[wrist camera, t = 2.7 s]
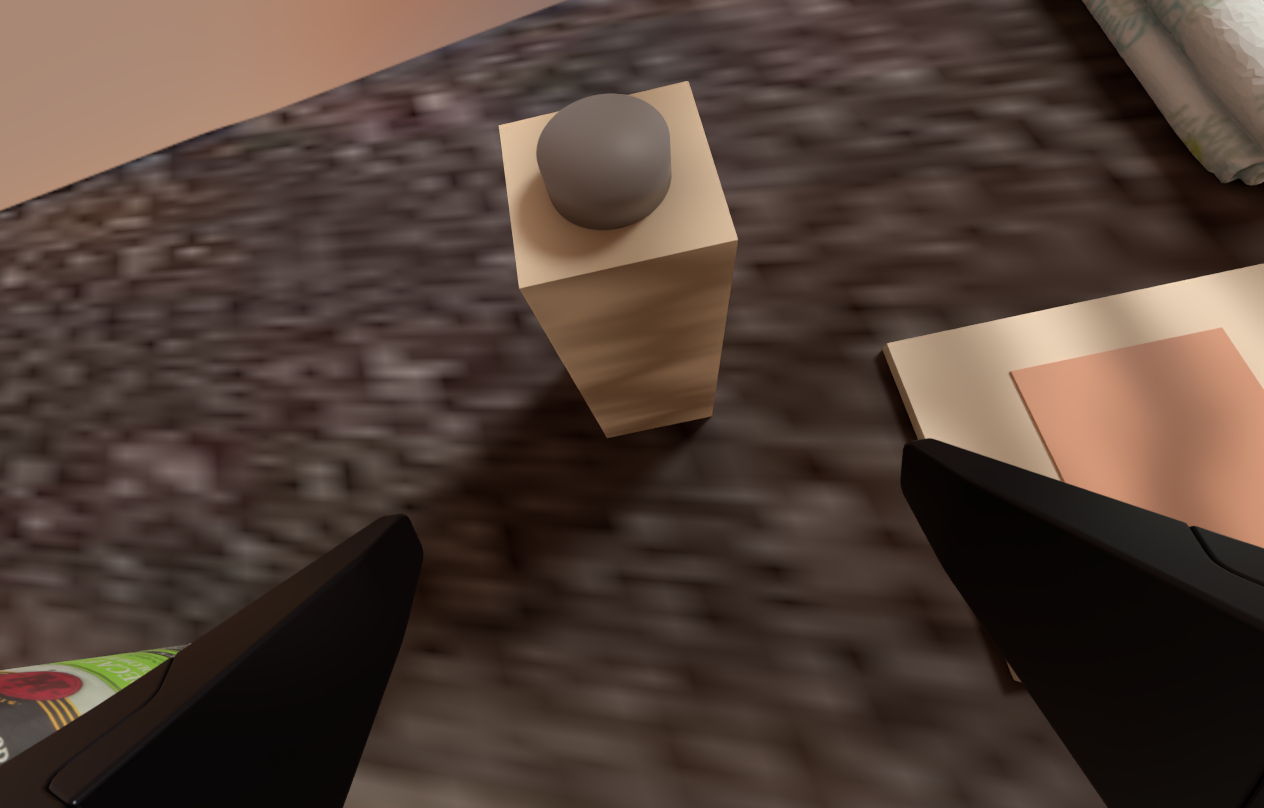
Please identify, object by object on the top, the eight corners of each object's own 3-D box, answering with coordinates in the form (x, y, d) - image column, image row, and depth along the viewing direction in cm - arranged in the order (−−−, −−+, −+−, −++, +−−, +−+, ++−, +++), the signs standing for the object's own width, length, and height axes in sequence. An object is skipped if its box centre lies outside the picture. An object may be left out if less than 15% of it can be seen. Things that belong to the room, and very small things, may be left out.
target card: (1013, 679, 19) (1025, 683, 18) (881, 349, 23) (887, 342, 23) (1515, 587, 18) (1547, 587, 17) (1275, 265, 23) (1293, 256, 22)
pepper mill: (607, 437, 23) (504, 262, 10) (590, 344, 25) (483, 90, 12) (711, 416, 23) (742, 208, 10) (688, 323, 25) (688, 41, 12)
